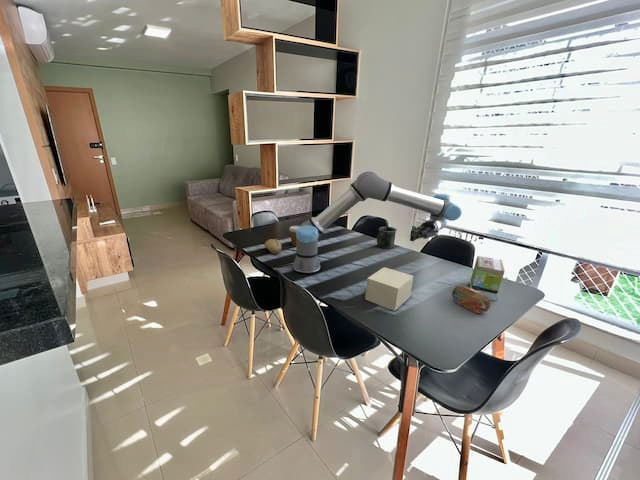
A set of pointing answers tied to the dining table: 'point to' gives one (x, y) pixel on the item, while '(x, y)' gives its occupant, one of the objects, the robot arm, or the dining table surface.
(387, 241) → the mug
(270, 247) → the bread roll
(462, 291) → the orange brown snack packet
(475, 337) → the dining table surface
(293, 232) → the disposable coffee cup
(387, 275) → the cream foam cube
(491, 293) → the tea box
